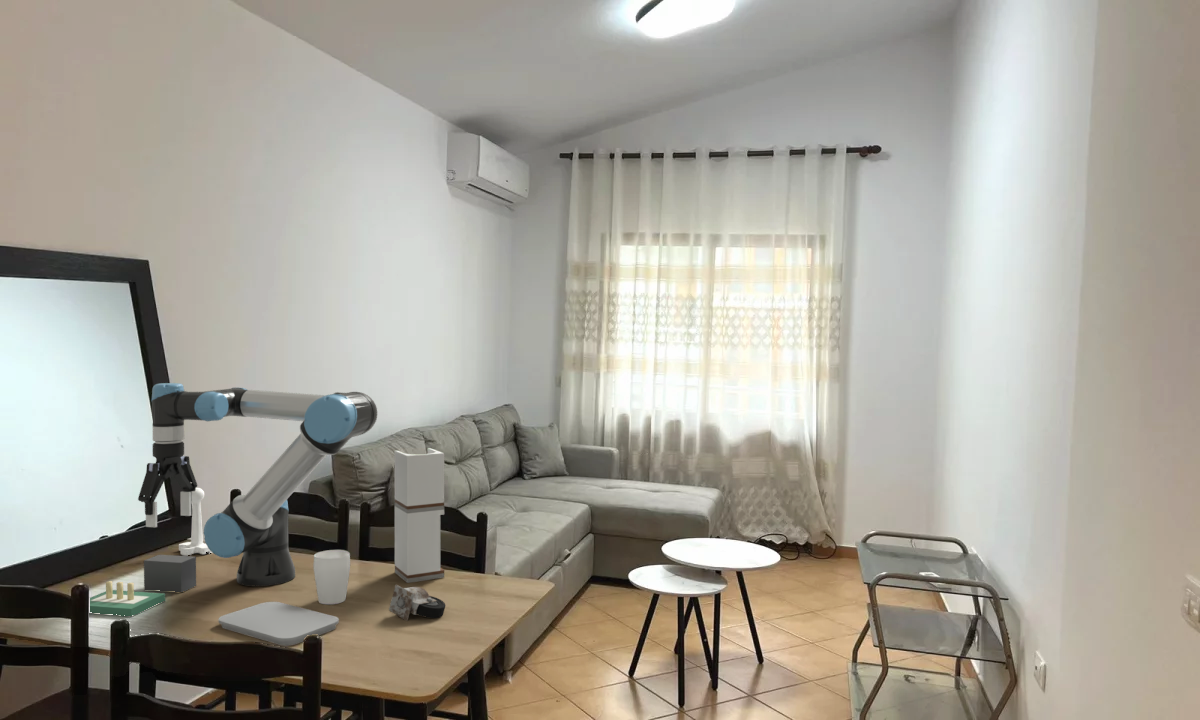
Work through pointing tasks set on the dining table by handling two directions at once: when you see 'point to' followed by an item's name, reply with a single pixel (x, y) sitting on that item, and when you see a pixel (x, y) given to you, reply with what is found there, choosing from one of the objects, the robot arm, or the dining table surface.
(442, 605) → the caster wheel
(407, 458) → the white striped vase
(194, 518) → the joystick
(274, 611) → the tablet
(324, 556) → the cup
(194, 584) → the block
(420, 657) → the dining table surface
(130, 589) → the board
